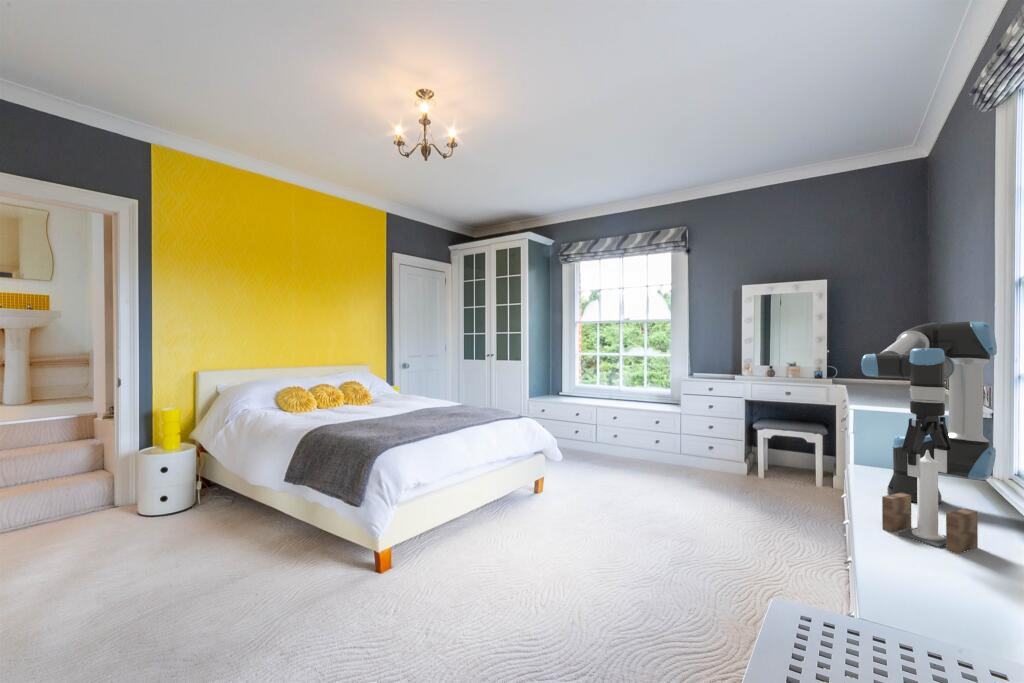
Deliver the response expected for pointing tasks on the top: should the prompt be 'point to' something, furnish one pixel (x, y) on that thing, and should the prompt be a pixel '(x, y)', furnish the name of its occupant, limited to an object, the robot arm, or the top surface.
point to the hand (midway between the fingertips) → (927, 474)
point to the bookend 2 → (961, 530)
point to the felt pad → (934, 543)
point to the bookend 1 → (896, 512)
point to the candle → (927, 500)
